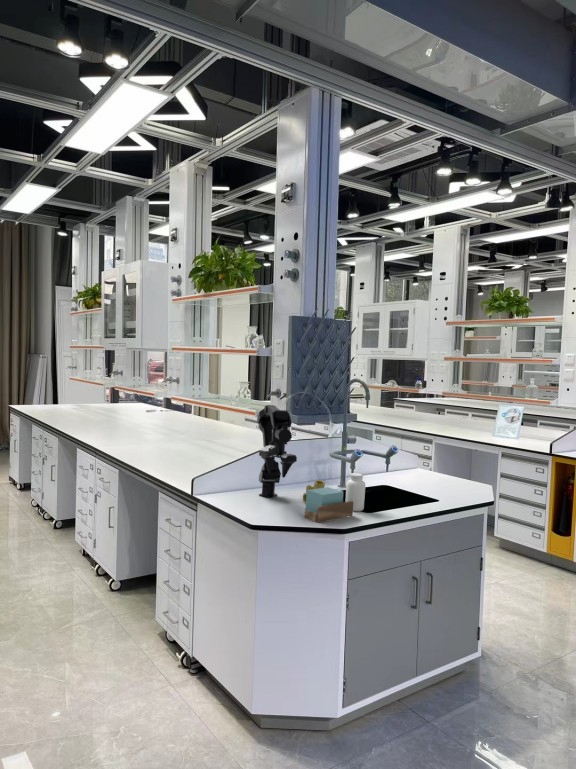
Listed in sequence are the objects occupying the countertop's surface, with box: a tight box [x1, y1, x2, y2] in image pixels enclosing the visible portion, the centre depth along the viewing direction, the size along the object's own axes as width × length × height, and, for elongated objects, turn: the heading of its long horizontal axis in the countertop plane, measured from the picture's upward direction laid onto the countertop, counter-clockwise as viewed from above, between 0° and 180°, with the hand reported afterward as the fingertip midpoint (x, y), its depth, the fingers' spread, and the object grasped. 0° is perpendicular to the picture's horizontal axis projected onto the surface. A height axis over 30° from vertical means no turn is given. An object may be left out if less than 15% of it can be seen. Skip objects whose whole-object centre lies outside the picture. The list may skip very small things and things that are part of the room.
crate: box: [304, 486, 344, 513], centre depth 229 cm, size 9×12×10 cm
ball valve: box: [302, 479, 326, 504], centre depth 251 cm, size 13×10×10 cm
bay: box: [303, 501, 354, 524], centre depth 227 cm, size 8×20×6 cm, turn 131°
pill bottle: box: [344, 472, 366, 512], centre depth 242 cm, size 8×8×15 cm
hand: (276, 475), depth 243 cm, fingers open, 9 cm apart
